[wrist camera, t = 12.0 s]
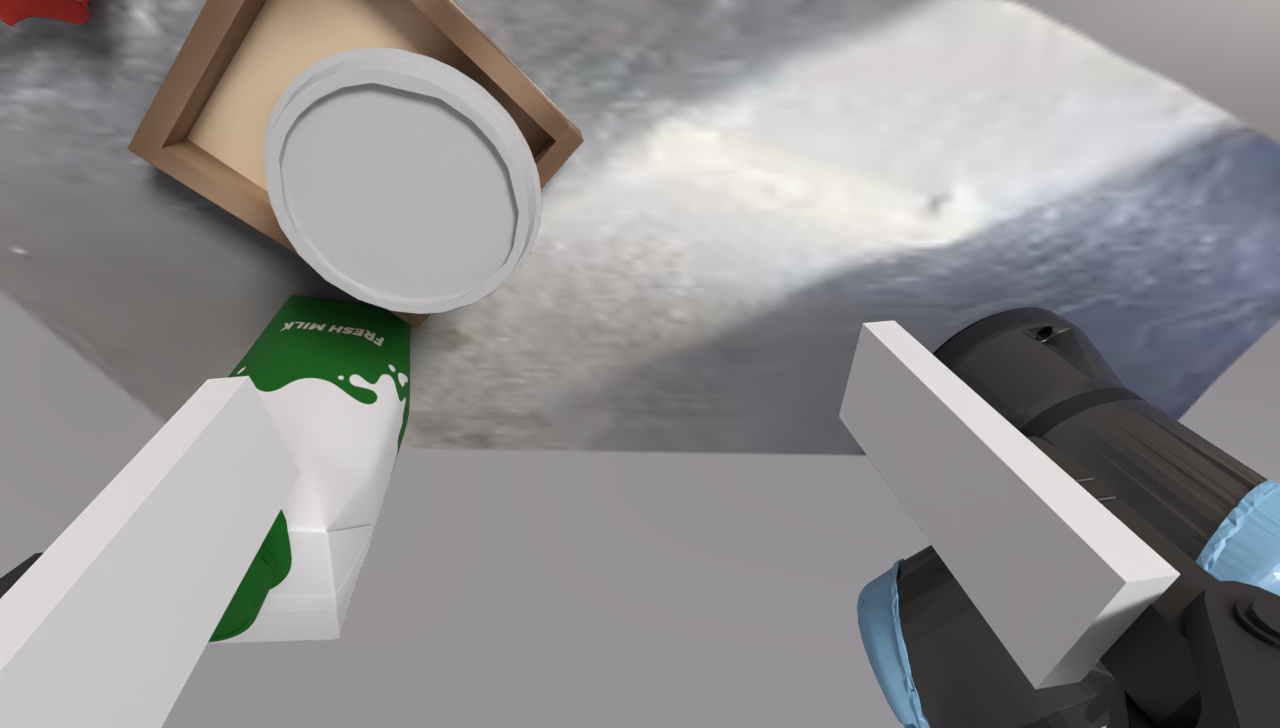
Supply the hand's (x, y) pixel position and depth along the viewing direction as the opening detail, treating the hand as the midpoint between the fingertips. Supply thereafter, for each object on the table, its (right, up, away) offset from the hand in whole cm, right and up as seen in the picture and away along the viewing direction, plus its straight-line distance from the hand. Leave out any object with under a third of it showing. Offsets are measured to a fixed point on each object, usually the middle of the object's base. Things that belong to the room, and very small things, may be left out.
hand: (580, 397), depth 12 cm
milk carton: (-18, +2, +24) cm, 30 cm away
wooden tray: (-13, +13, +16) cm, 25 cm away
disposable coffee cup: (-9, +13, +16) cm, 23 cm away
